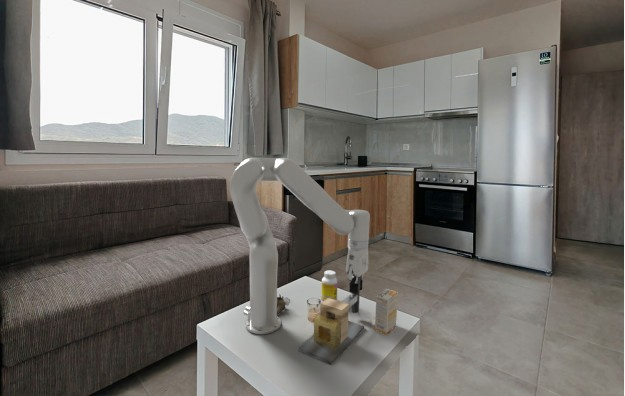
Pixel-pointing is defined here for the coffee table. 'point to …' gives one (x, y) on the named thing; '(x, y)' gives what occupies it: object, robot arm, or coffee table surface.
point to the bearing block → (346, 332)
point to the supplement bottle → (329, 286)
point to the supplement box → (386, 310)
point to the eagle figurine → (282, 303)
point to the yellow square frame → (324, 339)
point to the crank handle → (352, 300)
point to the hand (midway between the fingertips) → (355, 290)
